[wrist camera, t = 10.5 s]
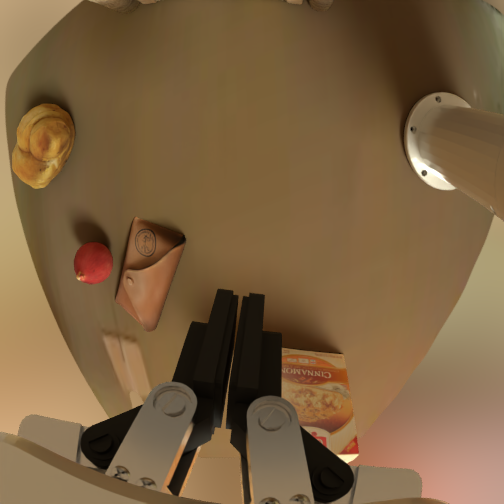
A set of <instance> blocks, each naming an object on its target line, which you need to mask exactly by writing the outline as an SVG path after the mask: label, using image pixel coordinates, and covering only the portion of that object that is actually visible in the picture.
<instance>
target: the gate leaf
mask: <svg viewBox="0 0 504 504" xmlns="http://www.w3.org/2000/svg"><path fill="white" fill-rule="evenodd" d="M138 1H140V2H141V3H143V4H150V3H157V1H158V0H138ZM302 1H303V0H287V3H293V4H300V5H301V4H302Z"/></svg>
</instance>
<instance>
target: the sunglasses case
mask: <svg viewBox="0 0 504 504" xmlns="http://www.w3.org/2000/svg"><path fill="white" fill-rule="evenodd" d="M185 243H186V238H185V236H184V235H182V234H179V233H176V232H174V231H171V230H169V229H166V228H163V227H161V226H158V225H156V224H153V223H151V222H148V221H145V220H142V219H138V218H137V217H135V218H134V220H133V222H132V226H131V231H130V236H129V241H128V246H127V251H126V256H125V261H124V265H123V270H122V274H121V279H120V284H119V288H118V292H117V295H116V299H115V302H116V303H117V304H120V305H121V306H122V307H123V308H124V309H125V310H126V311H127V312H128V313H129V314H130V315H132V317H134V318H135V319H136V320H137V321H138V322H139V323H140V324H141V325H142V326H143V327H144V330H145V331H147V332H150V331H153V330H155V329H156V327H157V325H158V322H159V319H160V316H161V313H162V310H163V307H164V304H165V301H166V298H167V295H168V292H169V289H170V286H171V283H172V280H173V277H174V275H175V272H176V269H177V266H178V263H179V261H180V258H181V255H182V252H183V250H184V246H185Z"/></svg>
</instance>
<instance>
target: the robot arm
mask: <svg viewBox="0 0 504 504" xmlns="http://www.w3.org/2000/svg"><path fill="white" fill-rule="evenodd" d="M435 98H436V99H435ZM411 127H412V130H411V131H410V128H411ZM404 146H405V151H406V155H407V159H408V161H409V163H410V165H411V167H412V169H413V170H414V172H415V173H416V175H417V176H418V177H419V178H420V179H421V180H422V181H424V182H425V183H427V184H428V185H430V186H432V187H434V188H436V189H440V190H453V189H459V190H460V191H462V192H463V193H465V194H466V195H468V196H469V197H471V198H472V199H474V200H475V201H477V202H478V203H479V204H481V205H482V206H484V207H485V208H487V209H488V210H489V211H491V212H492V213H493V214H495V215H496V216H497V217H499V218H500V219H501V220H503V221H504V115H503V114H499V113H494V112H489V111H484V110H479V109H473V108H471V106H470V105H469V104H468V103H467V102H466V101H465V100H463V99H462V98H460V97H458V96H457V95H454V94H451V93H445V92H435V93H431V94H428V95H426V96H424V97H423V98H421V99H420V100H419V101H418V102H417V103H416V104H415V105H414V106H413V108H412V109H411V111H410V113H409V115H408V118H407V120H406V124H405V129H404ZM421 172H422V173H421ZM264 298H265V295H263V294H254V293H250V294H249V297H246V296H243V300H242V307H241V313H240V319H239V325H238V332H237V338H236V344H235V350H234V357H233V363H232V369H231V376H230V383H229V392H228V405H227V418H226V429H232V431H231V440H230V443H231V444H232V445H233V446H234V447H235V448H236V449H237V450H238V451H239V461H240V475H241V489H242V503H243V504H449V503H447V502H444V501H441V500H437V499H431V498H421V492H422V480H421V477H420V476H419V474H418V473H417V472H415V471H414V470H411V469H401V468H400V469H399V468H386V467H374V466H365V465H359V466H358V467H357V466H350V465H348V464H347V463H346V462H344V461H343V460H342V459H341V458H339V457H338V456H337V455H335V454H334V453H333V452H332V451H330V450H329V449H328V448H327V447H325V446H324V445H323V444H322V443H321V442H319V441H318V440H317V439H316V438H315V437H313V436H312V435H311V434H310V433H309V432H307V431H306V430H305V429H304V428H303V427H302V426H300V425H299V420H298V415H297V412H296V410H295V408H294V406H293V405H292V404H291V403H290V402H288V401H287V400H285V399H284V398H282V334H281V333H277V332H267V331H262V329H263V314H264ZM237 307H238V295H233V291H231V290H223V289H218V290H217V294H216V297H215V301H214V304H213V308H212V311H211V315H210V318H209V322H208V324H207V323H200V322H194V321H192V323H191V325H190V328H189V331H188V334H187V337H186V339H185V342H184V346H183V349H182V352H181V355H180V358H179V361H178V364H177V367H176V370H175V373H174V376H173V379H172V382H165V383H162V384H159V385H158V386H156V387H155V388H153V390H152V391H151V392H150V393H149V395H148V397H147V399H146V400H145V402H144V404H143V405H140V406H138V407H136V408H134V409H131V410H129V411H127V412H124V413H122V414H120V415H117V416H115V417H112V418H110V419H107V420H105V421H102V422H100V423H98V424H95V425H92V426H91V427H85V426H82V425H81V424H79V423H73V422H68V421H62V420H57V419H53V418H48V417H44V416H39V415H29V416H27V417H25V418H24V419H23V420H22V422H21V424H20V427H19V431H18V436H16V435H13V434H8V433H4V432H0V504H218V503H212V502H205V501H199V500H193V499H189V498H184V497H181V496H182V494H183V491H184V489H185V486H186V484H187V481H188V478H189V476H190V473H191V471H192V469H193V466H194V463H195V461H196V458H197V456H198V453H199V451H200V448H201V445H203V444H204V443H206V442H208V441H210V440H211V436H212V434H214V430H215V427H218V428H221V424H222V418H223V412H224V405H225V399H226V393H227V387H228V381H229V375H230V368H231V362H232V356H233V349H234V339H235V329H236V318H237Z"/></svg>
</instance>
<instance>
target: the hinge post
mask: <svg viewBox="0 0 504 504" xmlns="http://www.w3.org/2000/svg"><path fill="white" fill-rule="evenodd" d="M333 1H334V0H309V4H310V6H311V7H312V8H313V9H314V10H316V11H326V10H328V9H329V8H330V6H331V4H332V3H333Z"/></svg>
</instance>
